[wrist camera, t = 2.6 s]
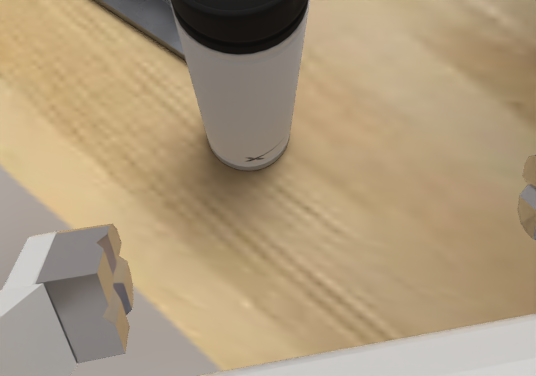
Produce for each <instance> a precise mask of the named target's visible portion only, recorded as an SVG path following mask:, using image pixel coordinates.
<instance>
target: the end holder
mask: <svg viewBox="0 0 536 376" xmlns="http://www.w3.org/2000/svg"><path fill="white" fill-rule="evenodd" d="M94 1H96V2H97V3H99V4H100V5H102V6H103V7H105V8H106V9H108V10H109V11H111V12H113V13H114V14H116V15H117V16H119V17H120V18H122V19H123V20H125V21H126V22H128V23H129V24H131V25H132V26H134V27H135V28H137V29H138V30H140V31H141V32H143V33H144V34H146V35H147V36H149V37H150V38H152V39H153V40H155V41H156V42H158V43H159V44H161V45H162V46H164V47H166V48H167V49H169V50H170V51H172V52H173V53H175V54H176V55H178V56H179V57H181V58H182V59H184V60H185V61H186V58H185V55H184V51H183V47H182V44H181V40H180V37H179V33H178V29H177V26H176V22H175V19H174V15H173V11H172V7H171V1H170V0H94Z"/></svg>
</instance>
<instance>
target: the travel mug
mask: <svg viewBox="0 0 536 376" xmlns="http://www.w3.org/2000/svg"><path fill="white" fill-rule="evenodd" d="M170 1H171V7H172V11H173V15H174V19H175V22H176V26H177V29H178V33H179V37H180V40H181V44H182V47H183V51H184V55H185V58H186V62H187V66H188V69H189V73H190V76H191V80H192V84H193V87H194V91H195V94H196V98H197V102H198V105H199V109H200V112H201V116H202V120H203V123H204V127H205V131H206V134H207V138H208V141H209V145H210V147H211V149H212V151H213V153H214V154H215V155H216V156H217V158H218V159H219V160H221V161H222V162H223V163H224V164H226V165H228V166H230V167H232V168H235V169H238V170H245V171H251V170H258V169H262V168H265V167H267V166H269V165H271V164H272V163H274V162H275V161H276V160H277V159H278V158H279V157H280V156H281V155H282V154H283V152H284V151H285V149H286V147H287V144H288V141H289V136H290V129H291V123H292V116H293V109H294V103H295V96H296V89H297V83H298V76H299V69H300V63H301V56H302V49H303V43H304V36H305V29H306V23H307V15H308V9H309V1H310V0H170Z"/></svg>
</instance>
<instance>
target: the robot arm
mask: <svg viewBox="0 0 536 376" xmlns="http://www.w3.org/2000/svg"><path fill="white" fill-rule="evenodd" d="M523 178H524V179H525V181H526V182H527V183H528V186H527V187H526V188H525V189H524V191H523V192H522V193H521V194H520V195H519V204H518V213H519V217H520V222H521V224H522V226H523V228H524V229H525V231H526V232H527V233H528V234H529V235H530V236H531V238H532V239H534V240H536V155H534V156H530V157H528V159H527V161H526V163H525V165H524V170H523ZM120 248H121V240H120V237H119V234H118V231H117V228H116V227H115V226H114V225H113V224H107V225H100V226H93V227H86V228H80V229H73V230H66V231H60V232H57V231H56V232H51V233H45V234H40V235H34V236H31V237H29V238H28V239H27V241H26V243H25V245H24V247H23V249H22V251H21V253H20V255H19V257H18V259H17V261H16V263H15V265H14V267H13V269H12V271H11V273H10V275H9V277H8V279H7V281H6V283H5V285H4V287H3V289H2V290H0V376H70V375H71V374H72V372H73V371H74V370H75V369H76V367H77V363H82V362H87V361H91V360H96V359H101V358H106V357H110V356H116V355H120V354H125V351H126V346H127V338H128V333H129V323H128V320H127V317H126V315H127V314H128V313H129V312H130V311H131V310H132V305H133V283H132V278H131V273H130V269H129V266H128V262H127V261H126V260H124V259H123V258H122V257H120V256H119V253H120ZM199 376H536V314H530V315H525V316H519V317H514V318H509V319H503V320H498V321H492V322H487V323H481V324H476V325H471V326H465V327H460V328H454V329H449V330H443V331H438V332H433V333H427V334H422V335H416V336H411V337H405V338H400V339H394V340H389V341H384V342H378V343H373V344H367V345H362V346H356V347H351V348H346V349H340V350H335V351H329V352H324V353H318V354H313V355H308V356H302V357H297V358H291V359H286V360H280V361H275V362H269V363H264V364H259V365H253V366H248V367H242V368H237V369H231V370H226V371H221V372H215V373H210V374H205V375H199Z"/></svg>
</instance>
